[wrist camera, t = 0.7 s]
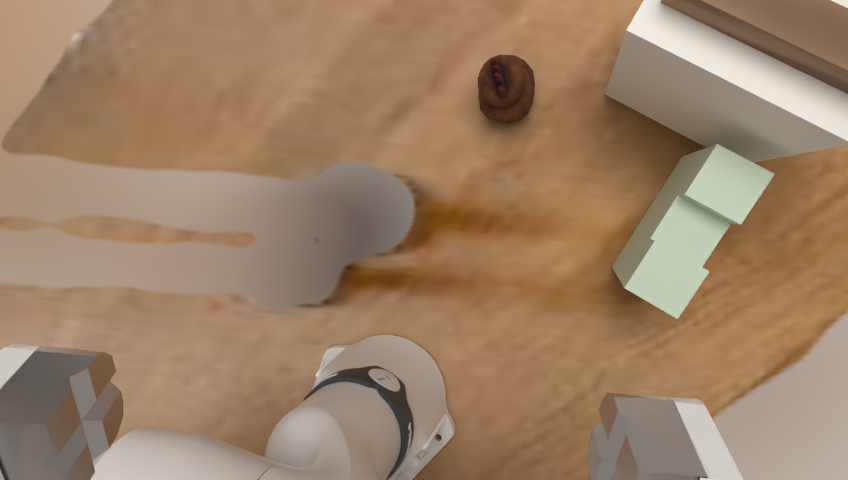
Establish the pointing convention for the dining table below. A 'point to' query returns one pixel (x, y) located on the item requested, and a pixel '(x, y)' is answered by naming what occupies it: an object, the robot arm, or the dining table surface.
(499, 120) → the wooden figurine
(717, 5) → the walnut bar
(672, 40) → the white stand
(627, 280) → the sage notched plate
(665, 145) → the dining table surface
